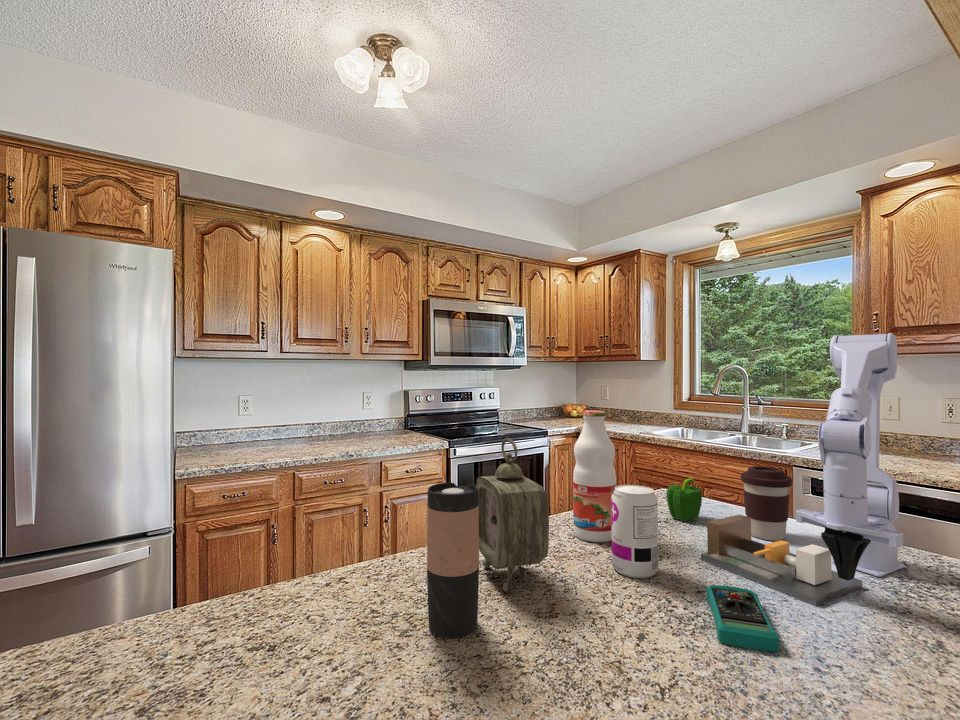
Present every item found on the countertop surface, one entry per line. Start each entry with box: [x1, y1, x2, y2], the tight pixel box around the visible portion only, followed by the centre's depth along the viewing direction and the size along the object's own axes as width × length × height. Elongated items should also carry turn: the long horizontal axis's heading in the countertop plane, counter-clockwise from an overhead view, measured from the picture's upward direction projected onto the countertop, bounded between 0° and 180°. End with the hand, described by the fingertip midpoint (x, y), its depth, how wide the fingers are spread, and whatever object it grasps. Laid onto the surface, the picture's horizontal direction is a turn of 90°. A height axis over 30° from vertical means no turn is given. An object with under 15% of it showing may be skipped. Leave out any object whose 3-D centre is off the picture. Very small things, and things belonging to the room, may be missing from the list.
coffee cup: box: [740, 465, 793, 542], centre depth 109 cm, size 10×10×15 cm
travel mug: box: [426, 482, 480, 639], centre depth 71 cm, size 8×8×20 cm
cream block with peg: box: [784, 543, 833, 585], centre depth 85 cm, size 6×5×5 cm
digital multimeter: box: [706, 584, 780, 653], centre depth 72 cm, size 7×15×3 cm, turn 161°
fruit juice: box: [572, 409, 617, 543], centre depth 110 cm, size 9×9×28 cm
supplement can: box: [611, 484, 659, 579], centre depth 91 cm, size 8×8×15 cm
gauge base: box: [700, 514, 863, 607], centre depth 89 cm, size 21×14×7 cm, turn 28°
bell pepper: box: [666, 477, 703, 522], centre depth 122 cm, size 8×8×10 cm
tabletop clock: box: [475, 437, 550, 593], centre depth 88 cm, size 14×9×25 cm, turn 18°
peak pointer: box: [753, 540, 791, 564], centre depth 88 cm, size 2×9×4 cm, turn 118°
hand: (846, 577), depth 79 cm, fingers closed
